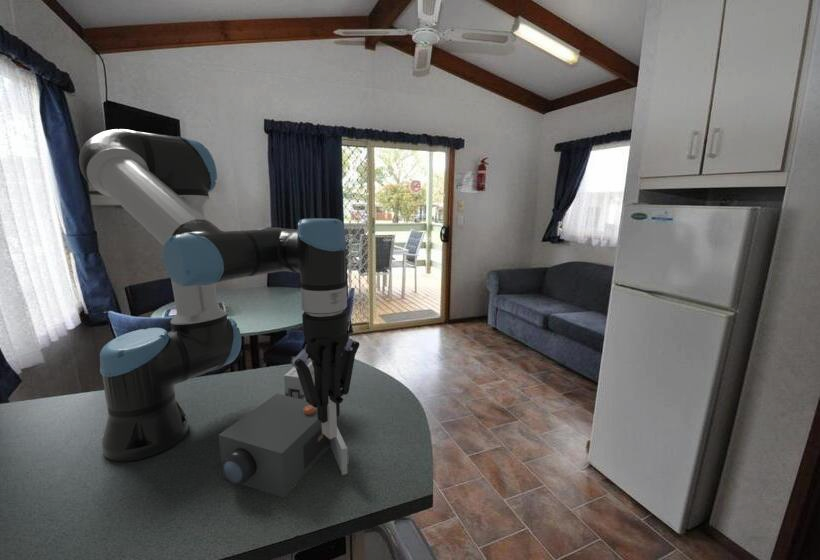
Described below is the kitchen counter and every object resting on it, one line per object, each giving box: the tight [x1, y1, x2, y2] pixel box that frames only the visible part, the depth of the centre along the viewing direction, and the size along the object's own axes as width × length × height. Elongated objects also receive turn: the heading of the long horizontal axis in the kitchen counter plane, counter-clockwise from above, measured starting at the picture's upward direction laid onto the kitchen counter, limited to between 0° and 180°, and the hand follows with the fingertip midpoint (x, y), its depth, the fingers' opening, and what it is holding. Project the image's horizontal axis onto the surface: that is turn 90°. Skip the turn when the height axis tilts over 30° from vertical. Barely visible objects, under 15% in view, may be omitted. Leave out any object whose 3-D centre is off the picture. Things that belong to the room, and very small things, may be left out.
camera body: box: [218, 393, 331, 499], centre depth 72 cm, size 15×19×10 cm
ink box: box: [283, 357, 315, 400], centre depth 90 cm, size 9×5×15 cm, turn 168°
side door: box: [330, 426, 350, 476], centre depth 73 cm, size 9×2×6 cm, turn 25°
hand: (329, 434), depth 68 cm, fingers closed
